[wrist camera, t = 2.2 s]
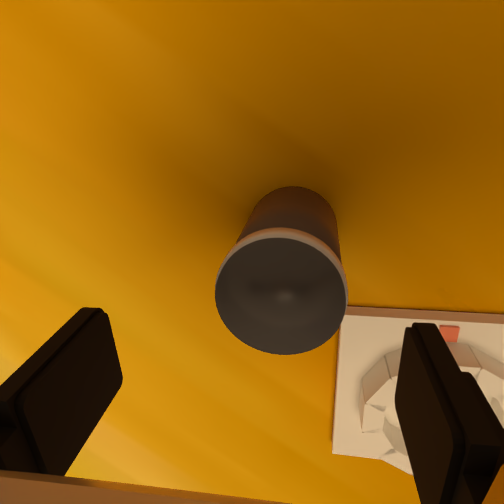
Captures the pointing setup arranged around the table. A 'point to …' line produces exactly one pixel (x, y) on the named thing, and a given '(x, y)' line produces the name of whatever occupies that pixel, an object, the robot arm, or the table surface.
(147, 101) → the table surface
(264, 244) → the lens
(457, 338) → the lens mount
